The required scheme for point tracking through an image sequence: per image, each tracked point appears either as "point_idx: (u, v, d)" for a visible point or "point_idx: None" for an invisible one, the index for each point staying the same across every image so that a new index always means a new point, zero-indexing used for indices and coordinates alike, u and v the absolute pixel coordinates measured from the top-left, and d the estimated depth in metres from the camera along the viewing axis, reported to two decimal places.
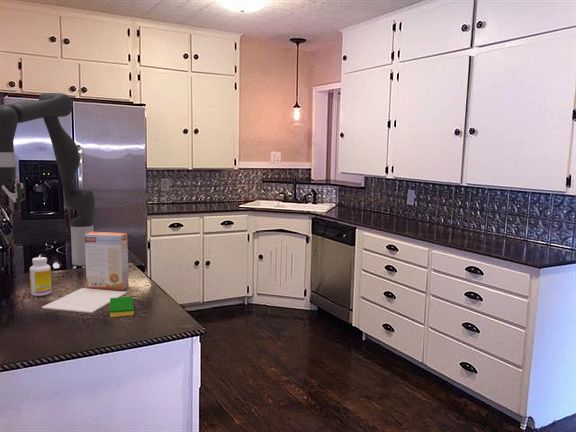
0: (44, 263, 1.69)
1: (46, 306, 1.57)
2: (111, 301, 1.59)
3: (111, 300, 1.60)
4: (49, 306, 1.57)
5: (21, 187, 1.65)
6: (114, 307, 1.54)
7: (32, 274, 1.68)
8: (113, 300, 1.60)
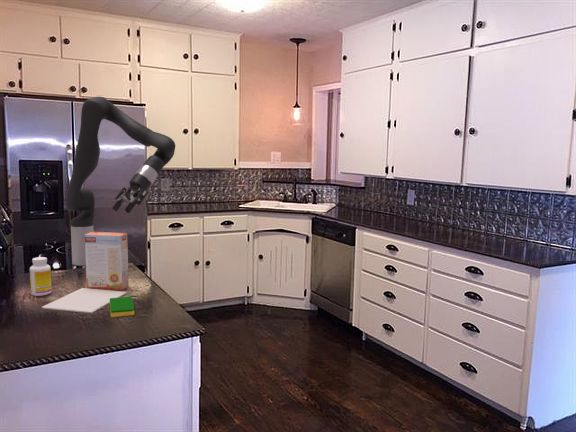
0: (44, 263, 1.69)
1: (46, 306, 1.57)
2: (111, 301, 1.59)
3: (111, 300, 1.60)
4: (49, 306, 1.57)
5: None
6: (115, 307, 1.54)
7: (32, 274, 1.68)
8: (113, 300, 1.60)
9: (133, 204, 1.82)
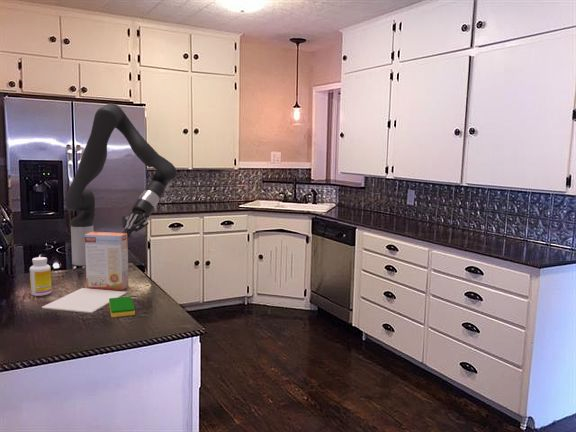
0: (44, 263, 1.69)
1: (46, 306, 1.57)
2: (110, 301, 1.59)
3: (110, 300, 1.60)
4: (49, 306, 1.57)
5: None
6: (115, 307, 1.54)
7: (32, 274, 1.68)
8: (112, 300, 1.60)
9: (130, 231, 1.86)
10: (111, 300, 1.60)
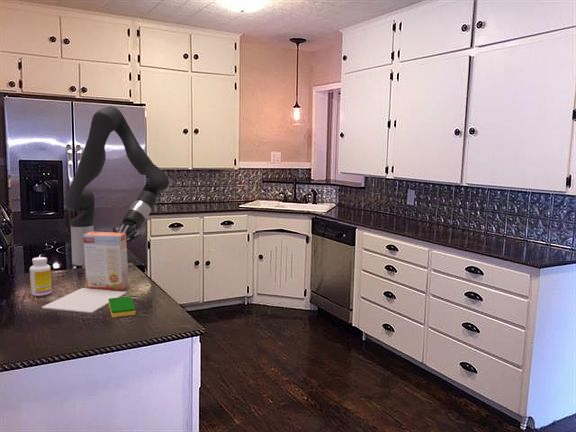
0: (44, 263, 1.69)
1: (46, 306, 1.57)
2: (110, 301, 1.59)
3: (110, 300, 1.60)
4: (49, 306, 1.57)
5: None
6: (115, 307, 1.54)
7: (32, 274, 1.68)
8: (112, 300, 1.60)
9: None
10: (111, 300, 1.60)
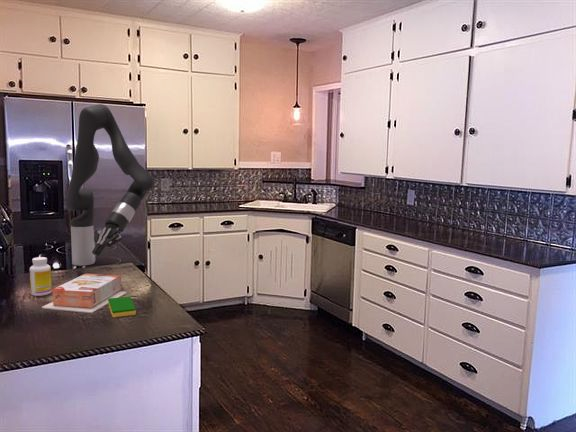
0: (44, 263, 1.69)
1: (46, 306, 1.57)
2: (110, 301, 1.59)
3: (110, 300, 1.60)
4: (49, 306, 1.57)
5: None
6: (116, 307, 1.54)
7: (32, 274, 1.68)
8: (112, 300, 1.60)
9: (103, 246, 1.75)
10: (110, 300, 1.60)
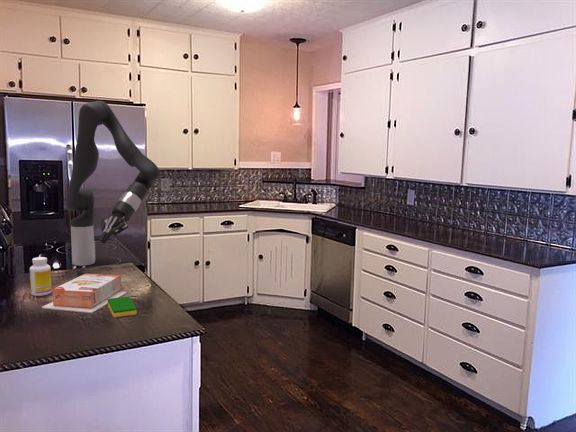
0: (44, 263, 1.69)
1: (46, 306, 1.57)
2: (110, 302, 1.59)
3: (109, 301, 1.60)
4: (49, 306, 1.57)
5: None
6: (116, 307, 1.54)
7: (32, 274, 1.68)
8: (111, 301, 1.60)
9: (109, 235, 1.77)
10: (110, 300, 1.60)
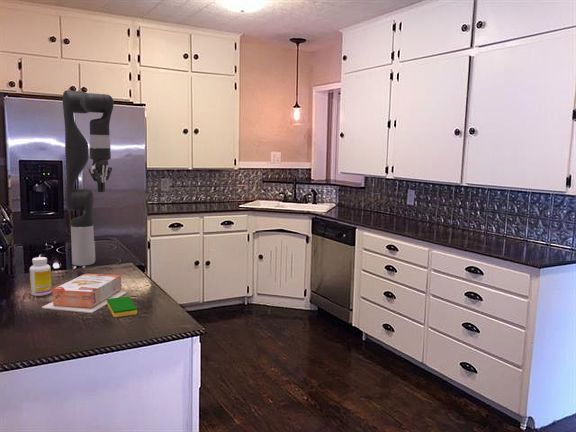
0: (44, 263, 1.69)
1: (46, 306, 1.57)
2: (110, 302, 1.59)
3: (109, 301, 1.60)
4: (49, 306, 1.57)
5: None
6: (116, 307, 1.54)
7: (32, 274, 1.68)
8: (111, 301, 1.60)
9: (98, 183, 1.85)
10: (110, 300, 1.60)
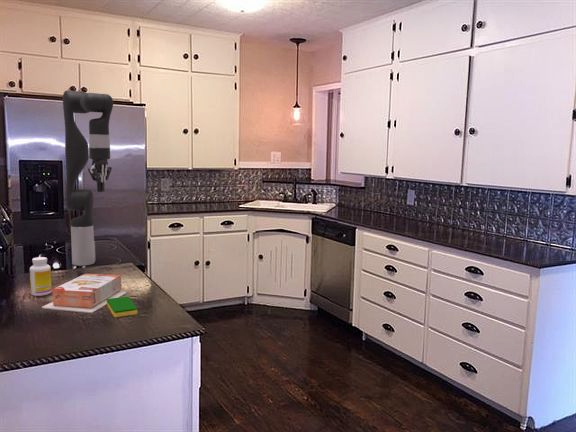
0: (44, 263, 1.69)
1: (46, 306, 1.57)
2: (109, 302, 1.59)
3: (109, 301, 1.60)
4: (49, 306, 1.57)
5: None
6: (117, 307, 1.54)
7: (32, 274, 1.68)
8: (111, 301, 1.60)
9: (98, 182, 1.85)
10: (110, 300, 1.60)
